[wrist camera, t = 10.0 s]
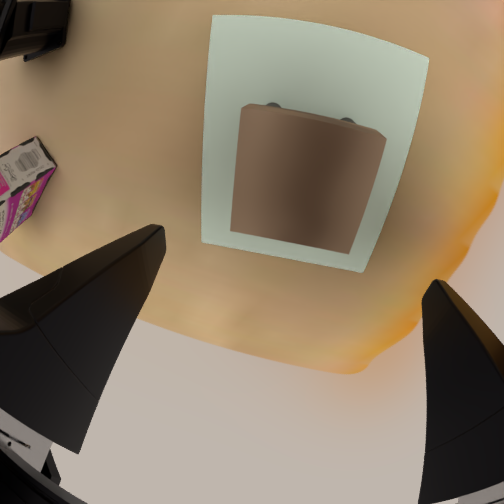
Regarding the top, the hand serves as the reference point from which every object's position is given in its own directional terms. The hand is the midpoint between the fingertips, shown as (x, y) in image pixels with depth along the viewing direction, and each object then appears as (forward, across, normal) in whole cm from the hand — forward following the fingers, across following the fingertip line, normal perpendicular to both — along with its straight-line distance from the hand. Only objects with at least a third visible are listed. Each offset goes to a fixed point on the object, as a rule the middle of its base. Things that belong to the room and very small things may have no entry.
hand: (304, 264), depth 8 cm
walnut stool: (+12, 0, 0) cm, 12 cm away
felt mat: (+12, 0, 0) cm, 12 cm away
